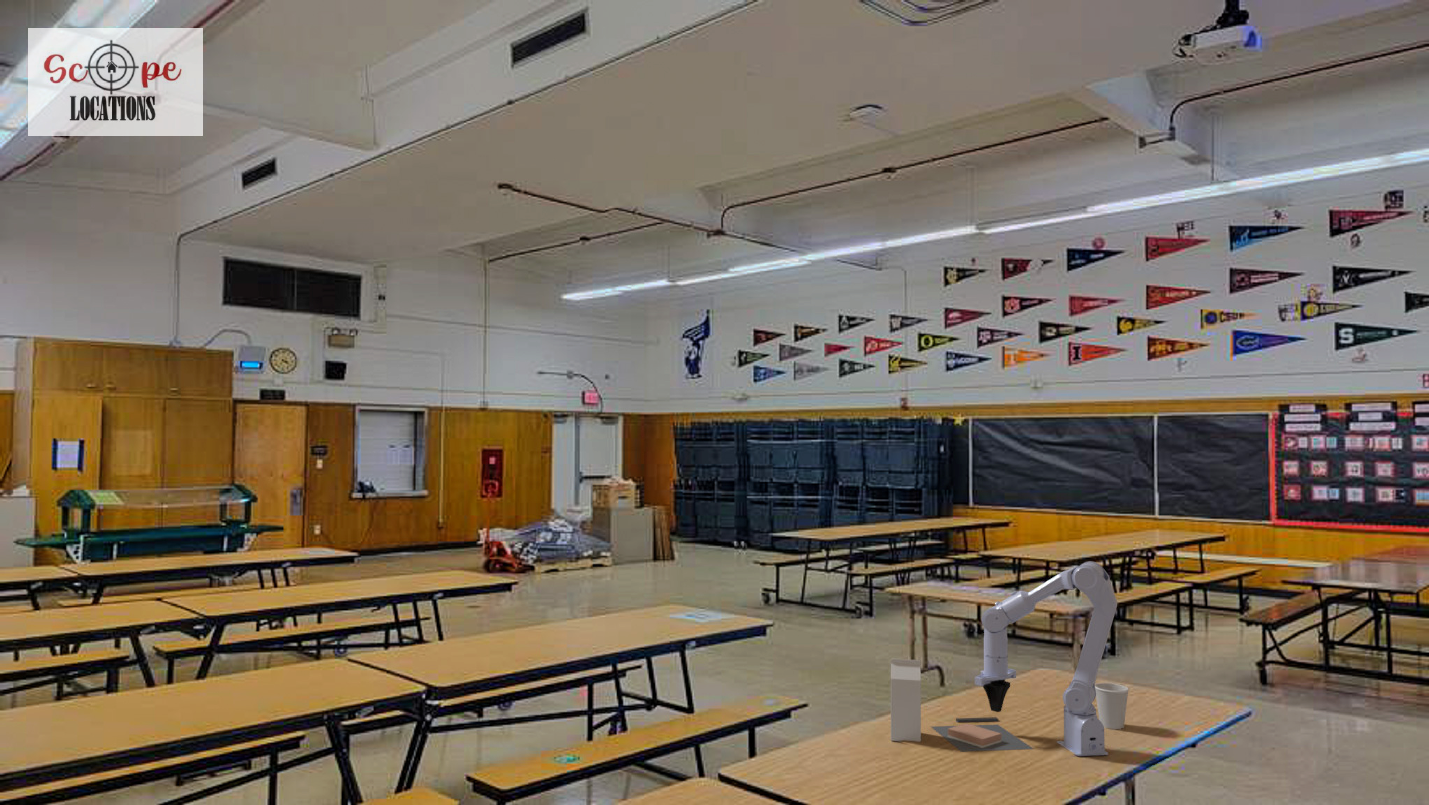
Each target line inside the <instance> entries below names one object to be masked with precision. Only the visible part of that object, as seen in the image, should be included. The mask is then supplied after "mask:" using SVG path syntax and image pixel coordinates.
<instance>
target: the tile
mask: <svg viewBox="0 0 1429 805" xmlns="http://www.w3.org/2000/svg"><path fill="white" fill-rule="evenodd" d="M974 725H975V724H970V723H968V722H965V723H963V724H960V725H955V726H956V727H952V728H949V729H948V737H949V738H953V739H956V740H959V741H962V742H965V743H968V744H972V745H975V746H978V747H981V748H984V747H987V746H990V745H993V744H996V743H1000V742H1001V733H998V732H994V731H991V730H988V729H984V728H981V727H977V726H974Z"/></svg>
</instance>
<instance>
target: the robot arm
mask: <svg viewBox="0 0 1429 805" xmlns="http://www.w3.org/2000/svg"><path fill="white" fill-rule="evenodd" d="M1076 588H1077V589H1078V590H1079V591H1080V592H1082V594H1084V595H1085V596H1087V599H1089V602H1090V603H1091V604H1092V605H1093V611H1092V614H1091V617H1090V621H1089V625H1088V627H1087V631H1086V634H1085V639H1084V642H1083V646H1082V648H1081V651H1080V655H1079V659H1078V662H1077V665H1076V669H1075V672H1074V674H1073V676H1072V680H1071V682H1070V683H1069V685H1068V687H1067V688H1066V689H1065V690H1064V692H1063V694H1062V701H1063V704H1064V706H1063V740H1058V741H1056V743H1057V744H1058V745H1060V746H1062V747H1063V748H1064V749H1067V750H1068V751H1069V752H1071V753H1073V755H1075V756H1077V757H1087V756H1089V757H1091V756H1108V755H1109V752H1107V751H1106V750H1105V749H1106V748H1105V747H1106V745H1105V728H1104V726H1103V724H1102V722H1101V721H1100V720H1099V717H1098V715H1097V708H1096V707H1095V705H1094V704H1093V702H1094V701H1095V699H1096V689H1095V684H1096V681H1097V676H1098V671H1099V669H1100V665H1101V662H1102V657H1103V654H1104V652H1105V648H1106V645H1107V642H1108V638H1109V634H1110V631H1111V627H1112V625H1113V620H1114V617H1115V614H1116V611H1117V607H1118V601H1117V597H1116V595H1115V591H1114V588H1113V586H1112V582H1111V580H1110V575H1109V574H1108V572H1107V571H1106V570H1105V569H1104V567H1103V566H1102V565H1101V564H1099V563H1098V562H1095V561H1093V560H1092V561H1091V560H1090V561H1084V562H1083V563H1082V564H1080V565H1079V566H1078V565H1077V566H1074V567H1071V568H1068V569H1066V570H1064V571H1062V572H1060V573H1058V574H1056V575H1055V576H1053V577H1052V578H1050V579H1048V580H1047V581H1045V582H1043V583H1041V584H1040V585H1038V586H1037V587H1035V588H1033V589H1032V590H1030V591H1024V590H1019V591H1017V590H1014V591H1013V592H1011V593H1010V596H1008V597H1006V598H1005V599H1004V600H1002V601H996V602H995V603H994V606H992V607H989V608H987V610H985V611H984V612H983V614H982V615H981V625H982V626H983V632H984V633H983V634H984V635H983V670H980V674H979V675H977V676H974V686H975V685H976V686H979V687H983V690H984V691H985V693H986V696H987V699H988V703H989V707H990V711H992V712H996V713H1000V712H1002V710H1003V705H1004V702H1005V698H1006V695H1007V693H1008V690H1009V689H1010V688H1011V682H1010V681H1006V680H1008V679H1016V678H1017V670H1016V669H1014V668H1013V669H1012V668H1009V666H1008V665H1009V662H1008V661H1009V659H1008V655H1009V654H1008V653H1009V652H1008V650H1009V646H1008V642H1009V641H1008V640H1009V639H1008V626H1009V624H1014V623H1016V622H1017V621H1019V620H1021V619H1024V617H1026V616H1027V615H1030V614H1031V613H1033V612H1034V611H1035V609H1036V604H1037V603H1039V602H1041V601H1043V600H1044V599H1047V598H1049V597H1050V596H1053V595H1054V594H1057V593H1058V592H1060V591H1062V590H1075V589H1076Z"/></svg>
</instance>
